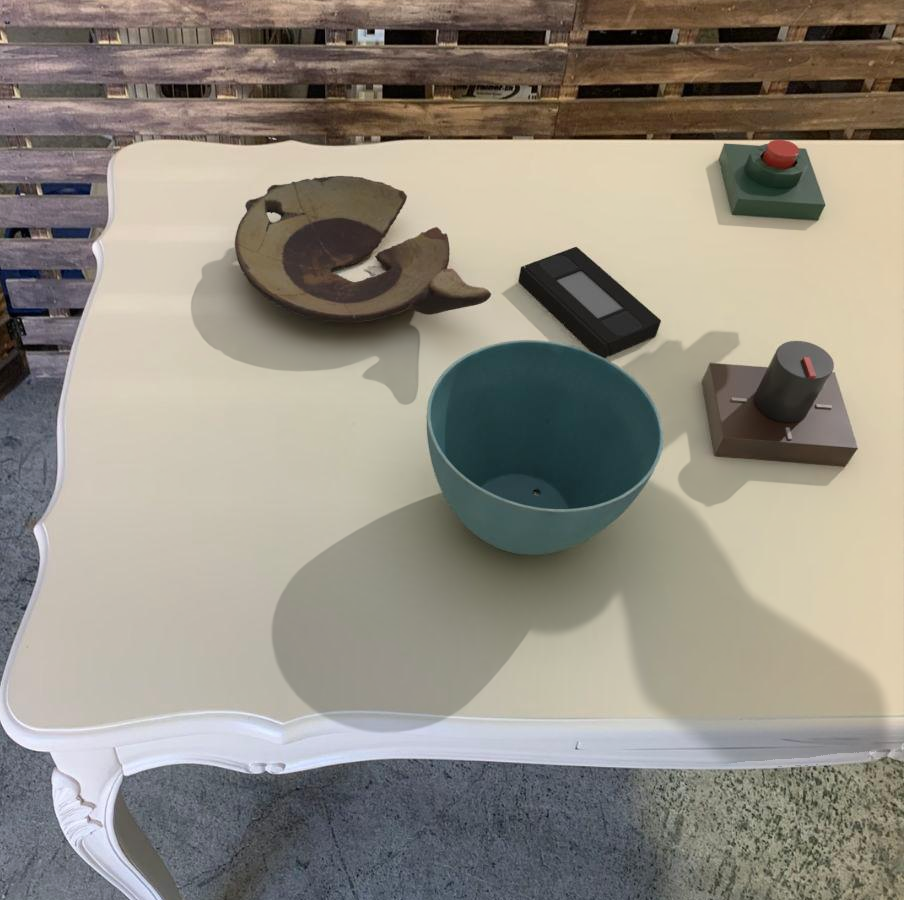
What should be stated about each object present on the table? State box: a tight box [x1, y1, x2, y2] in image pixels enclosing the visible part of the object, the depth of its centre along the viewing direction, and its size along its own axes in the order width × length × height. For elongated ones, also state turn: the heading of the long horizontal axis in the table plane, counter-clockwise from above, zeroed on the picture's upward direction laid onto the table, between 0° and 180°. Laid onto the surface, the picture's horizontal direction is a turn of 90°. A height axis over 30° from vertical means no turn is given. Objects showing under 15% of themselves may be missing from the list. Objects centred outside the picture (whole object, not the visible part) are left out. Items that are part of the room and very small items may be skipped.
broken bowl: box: [234, 175, 492, 323], centre depth 94 cm, size 22×30×8 cm
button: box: [762, 139, 800, 169], centre depth 106 cm, size 4×4×2 cm
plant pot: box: [426, 339, 664, 556], centre depth 74 cm, size 18×18×12 cm
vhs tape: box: [518, 246, 662, 359], centre depth 95 cm, size 8×14×2 cm, turn 30°
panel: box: [701, 362, 859, 467], centre depth 85 cm, size 12×10×3 cm
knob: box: [754, 340, 835, 422], centre depth 82 cm, size 5×5×6 cm
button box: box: [718, 142, 826, 222], centre depth 108 cm, size 10×12×4 cm
